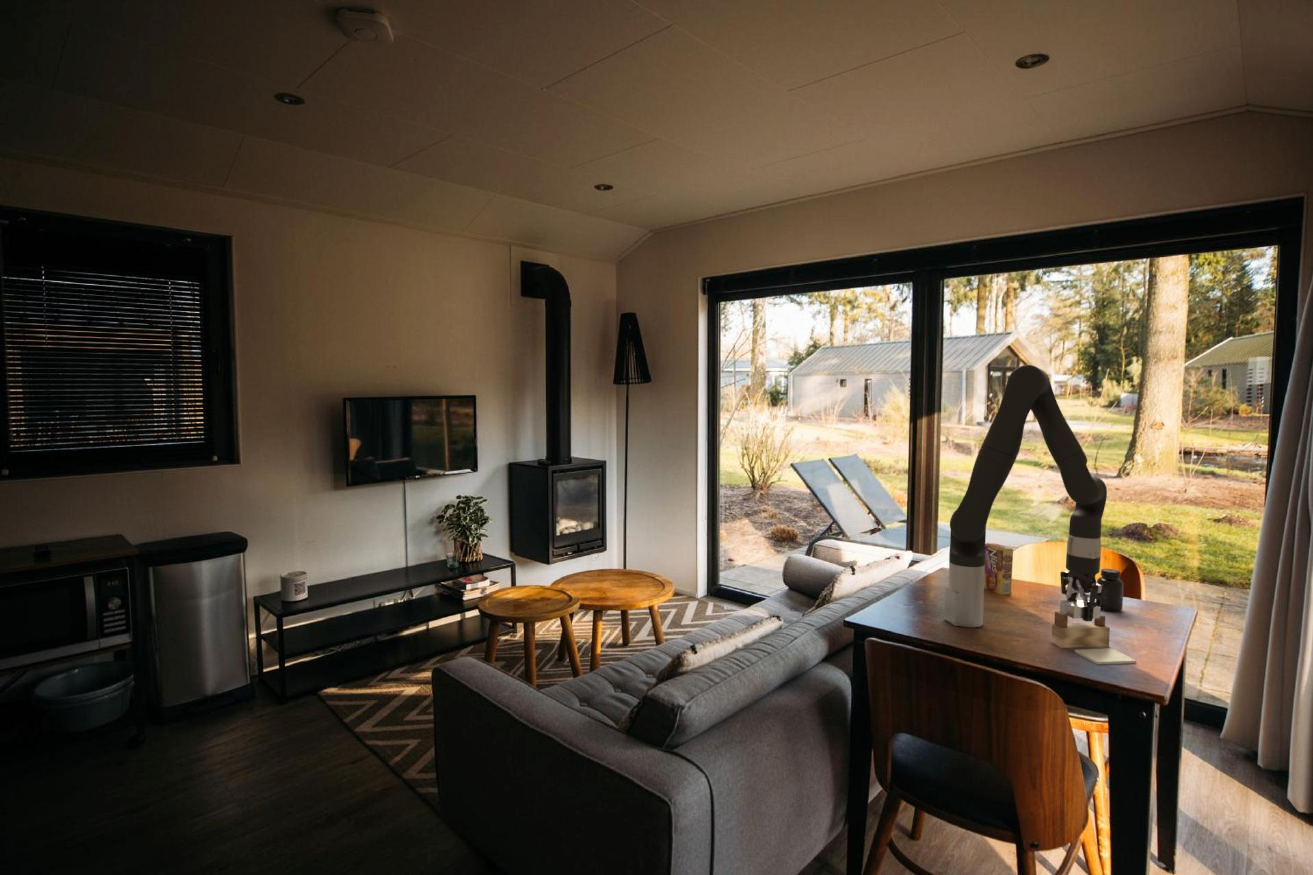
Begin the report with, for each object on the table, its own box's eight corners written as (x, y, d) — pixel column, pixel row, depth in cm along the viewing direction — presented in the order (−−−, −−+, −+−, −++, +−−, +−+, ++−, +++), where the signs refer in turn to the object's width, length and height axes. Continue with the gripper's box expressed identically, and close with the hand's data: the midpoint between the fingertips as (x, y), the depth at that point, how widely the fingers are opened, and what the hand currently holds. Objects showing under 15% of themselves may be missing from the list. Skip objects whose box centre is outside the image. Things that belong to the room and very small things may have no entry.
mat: (1097, 664, 168) (1097, 661, 168) (1075, 651, 176) (1075, 649, 176) (1136, 662, 169) (1136, 660, 169) (1112, 650, 177) (1112, 648, 177)
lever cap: (1073, 618, 178) (1074, 606, 178) (1059, 611, 183) (1060, 600, 183) (1099, 618, 178) (1100, 606, 178) (1084, 611, 184) (1085, 600, 184)
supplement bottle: (1126, 613, 207) (1128, 573, 206) (1101, 611, 208) (1102, 572, 207) (1116, 606, 213) (1118, 567, 213) (1091, 605, 215) (1093, 566, 214)
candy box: (1012, 594, 226) (1014, 548, 225) (1001, 595, 225) (1002, 549, 224) (993, 587, 234) (994, 542, 233) (982, 587, 234) (983, 543, 233)
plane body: (1061, 647, 179) (1062, 615, 178) (1051, 642, 183) (1052, 610, 182) (1108, 646, 180) (1110, 614, 179) (1097, 640, 184) (1099, 609, 183)
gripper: (1051, 546, 186) (1048, 608, 188) (1088, 560, 172) (1084, 626, 173) (1078, 546, 187) (1074, 607, 188) (1117, 560, 173) (1113, 626, 174)
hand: (1079, 616), depth 181 cm, fingers closed on lever cap, 5 cm apart
